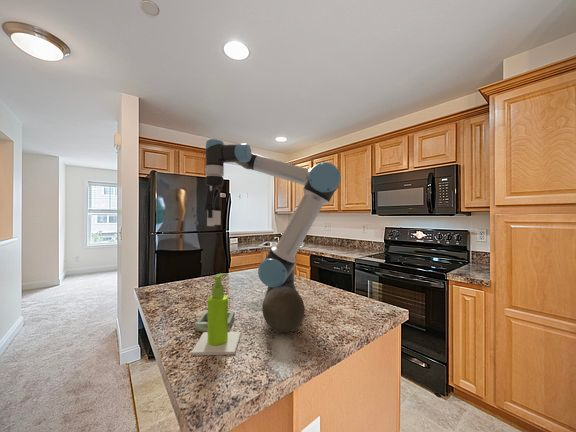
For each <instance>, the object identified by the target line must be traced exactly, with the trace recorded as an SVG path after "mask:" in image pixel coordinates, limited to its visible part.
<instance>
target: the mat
mask: <svg viewBox="0 0 576 432" xmlns="http://www.w3.org/2000/svg"><path fill="white" fill-rule="evenodd" d="M241 333H242V332H241V331H228V340H227V342H226V343H224V344H222V345H218V346H212V345H209V344H208V331H203V333H202V335H201V336H200V337H199V339H198V340H197V343H196V344H195V345H194V347H193V348H192V351H191V352H190V356H215V355H216V356H222V355H223V356H225V355H230V356H231V355H234V354H236V352H237V348H238V344H239V342H240V338H241V335H242V334H241Z"/></svg>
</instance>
